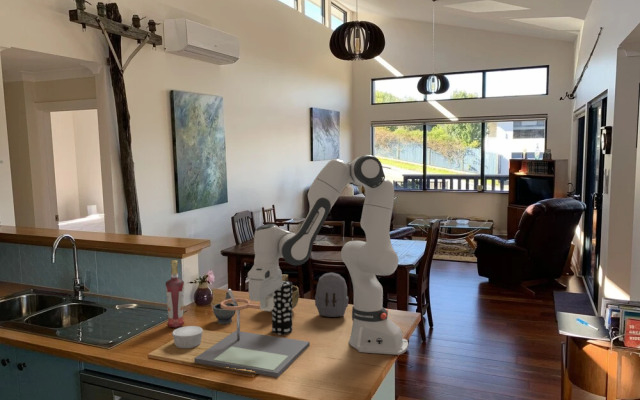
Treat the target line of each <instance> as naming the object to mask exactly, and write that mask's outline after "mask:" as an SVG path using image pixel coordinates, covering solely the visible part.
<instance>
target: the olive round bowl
mask: <svg viewBox="0 0 640 400" xmlns="http://www.w3.org/2000/svg"><path fill="white" fill-rule="evenodd" d="M282 281H289V274H282ZM299 297H300V292H299V287H298V286H297V285H296V286H295V285H293V284H292V310H293V309H295V307H297V305H298V302H299ZM270 312H271V313H272V310H271V311H270Z"/></svg>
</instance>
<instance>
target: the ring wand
mask: <svg viewBox="0 0 640 400" xmlns="http://www.w3.org/2000/svg"><path fill="white" fill-rule="evenodd" d="M234 298H235V300H236V302H237V303H244V304H242V305H238V306H226V305H225V304H227V303H233V301H232V299H227V300H225V299H224V300H222V301H221V302H220V303H221V308H223V309H224V310H236V311H237V310H240V311H243V310H247V309H248V308H249V309H253V310H260V311H262V312H263V311H264V312H271V310H273V309H274V297H269V296H266V299H265V300H266V303H267V307H266V308H261V302H260V301H259V304H257V303H256V304H254V303H252V300H250V299H248V298H242V297H234Z"/></svg>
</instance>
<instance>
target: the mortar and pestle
mask: <svg viewBox="0 0 640 400" xmlns="http://www.w3.org/2000/svg"><path fill="white" fill-rule="evenodd" d="M232 294H233V292H232ZM233 295H234V294H233ZM227 299H231V297H230V295H229V293H228V291H226V292H225V298H224V300H227ZM225 305H226V306H235V305H234V303H233V302H231V303H227V304H225ZM212 312H213V314H214V316H215V318H216V319H217V321H216V322H217V323H218V324H220V325H228V324H230V323H232V322H233V319H232V318H233V317H234V316H235V315H236V313H237V310H224V309H223V308H221V302H219V303H216V304H214V305H213V306H212Z"/></svg>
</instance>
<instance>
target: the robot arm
mask: <svg viewBox="0 0 640 400" xmlns="http://www.w3.org/2000/svg"><path fill="white" fill-rule="evenodd" d="M349 184H350V185H352V186H356V187H363V189H364V193H365V197H364V202H363V207H362V212H361V216H360V217H361V218H360V223H359V224H360V228H361V229H362V230H363V231H364V234H365V240H366V241H363V240H350V241H347V242H346V243H345V244H344V245H343V246H342V248H341V252H340V257H341V260H342V262H343V263H344V264H345V266H346V268H347V270H348V272H349V275H350V278H351V283H352V290H353V294H352V295H353V306H352V309H351V320H352V327H351V332H350V336H349V337H350V338H349V341H348V343H349V345H350V346H351V347H353V348H354V349H356V350H357V351H358V352H359V353H367V354H368V353H369V354H382V355H383V354H384V355H395V356H398V355H402V354H404V353H405V352H407V351H408V349H409V342H408V340H407V339H406V338H403V333H402V330H401V327H400V326H398V325H397V324H396V323H395V322H393V320H391V319H390V318H389V316H388V314H389V309H388V308H385V307H383V305H384V304H383V302H384V297H383V296H384V293H383V292H384V291H383V286H382V284H381V283H380V282H379V280H378V279H377V276H390V275H392V274H394V273H395V271H396V270H397V268H398V265H399V256H398V253H397V252H396V251H395V249H394V247H393V244H392V241H391V237H390V236H391V235H390V228H391V227H390V226H391V223H392V222H391V220H392V214H393V209H394V202H395V186H394V183H393V182H392V181H390V180H389V179H387V178H386V176H385V172H384V167H383V165H382V162H381V160H380V159H379V158H378V157H376V156H374V155H372V154H371V155H370V154H364V155H360V156H358V157H355V158H354V159H353V160H351V161H349V162H346V161H344V160H341V159H337V158H333V159H331V160H330V161H328V162H327V163H326V164H325V166H323V167H322V169H320V171H319V173H318V174H317V176H315V179H314V180H313V182H312V183H311V185H310V187H309V189H308V192H307V200H308V204H309V211H308V213H307V216H306V218H305V219H304V220H303V222H302V224H301V226H300V228H299V229H298V231H297V232H296V233H295V232H292V231H289V230H285V229H283V228H280V227H279V226H278V225H276V224H275V223H266V224H263V225H260V226H258V227H257V228H256V229H255V231H254V237H253V238H254V239H253V251H254V259H253V265H252V267H251V269H250V270H249V271H248V272H247V278H248V279H249V280H248V298H249V300H250V301H251V302H252V301H254V302H259V303H260V302H261V308H266V307H267V303H266V300H265V299H266V296H269V297H273V296H274V291H276V290H278V289H279V288H281V287H282V273H283V272H282V270H281V267H280V266H279V263H280V262H279V260H280V258H282V259H284V261H285V262H286V263H287V264H289V265H291V266H301V265H304V264H305V263H306V262H307V261H308V260H309V258H310V257H311V254H312V251H313V244H314V242H315V240H316V238H317V237H318V234H319V232H320V231H321V229H322V227H323V226H324V223H325V221H326V219H327V218H328V216H329V213H330V211H331V210H332V207H333V206H334V205H335V203H336V202H337V200H338V198H339V197H340V196H341V194H342V192H343V191H344V189H345V188H346V187H347V185H349Z"/></svg>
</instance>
